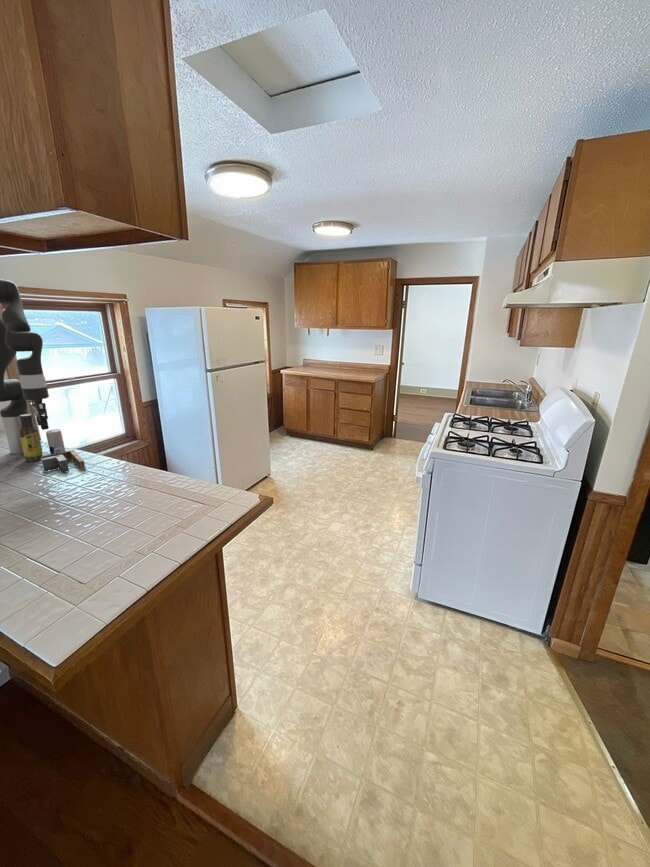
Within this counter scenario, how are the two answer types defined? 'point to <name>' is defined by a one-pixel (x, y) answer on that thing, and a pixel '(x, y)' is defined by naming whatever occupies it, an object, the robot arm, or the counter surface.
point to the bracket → (55, 463)
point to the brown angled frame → (70, 458)
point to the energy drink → (55, 441)
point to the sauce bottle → (30, 439)
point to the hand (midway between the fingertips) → (43, 427)
